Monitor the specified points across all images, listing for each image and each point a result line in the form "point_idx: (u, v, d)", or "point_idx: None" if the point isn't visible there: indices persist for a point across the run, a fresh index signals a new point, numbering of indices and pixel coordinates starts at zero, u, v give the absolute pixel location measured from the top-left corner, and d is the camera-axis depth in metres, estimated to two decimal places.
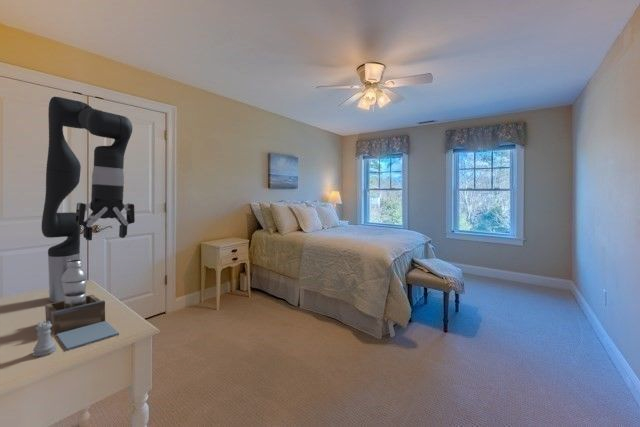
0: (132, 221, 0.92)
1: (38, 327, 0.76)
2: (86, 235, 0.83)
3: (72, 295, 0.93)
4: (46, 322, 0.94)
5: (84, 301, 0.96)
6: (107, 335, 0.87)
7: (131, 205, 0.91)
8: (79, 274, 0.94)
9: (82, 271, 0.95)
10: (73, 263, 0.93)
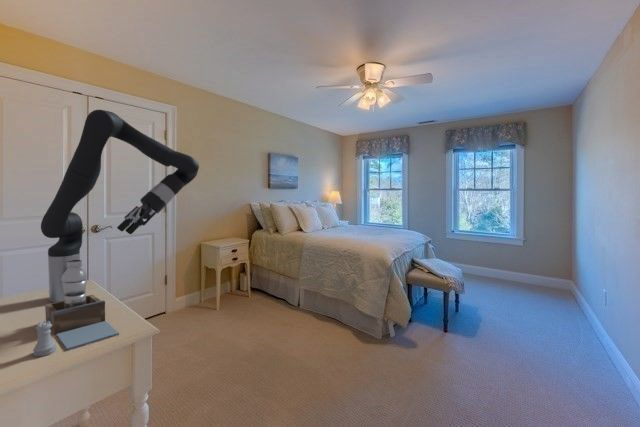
0: None
1: (38, 327, 0.76)
2: None
3: (72, 295, 0.93)
4: (46, 322, 0.94)
5: (84, 301, 0.96)
6: (107, 335, 0.87)
7: None
8: (79, 274, 0.94)
9: (82, 271, 0.95)
10: (73, 263, 0.93)
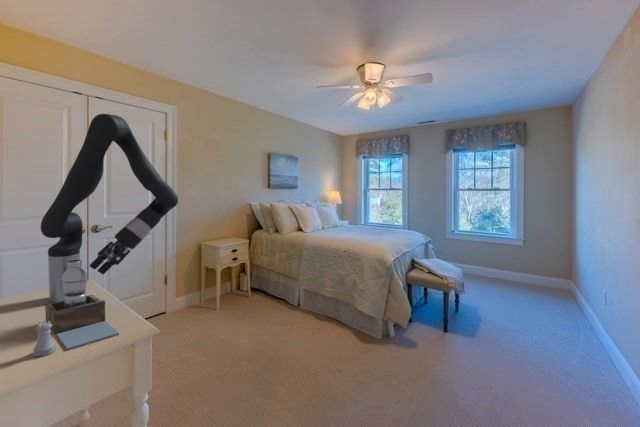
0: None
1: (38, 327, 0.76)
2: None
3: (72, 295, 0.93)
4: (46, 322, 0.94)
5: (84, 301, 0.96)
6: (107, 335, 0.87)
7: None
8: (79, 274, 0.94)
9: (82, 271, 0.95)
10: (73, 263, 0.93)
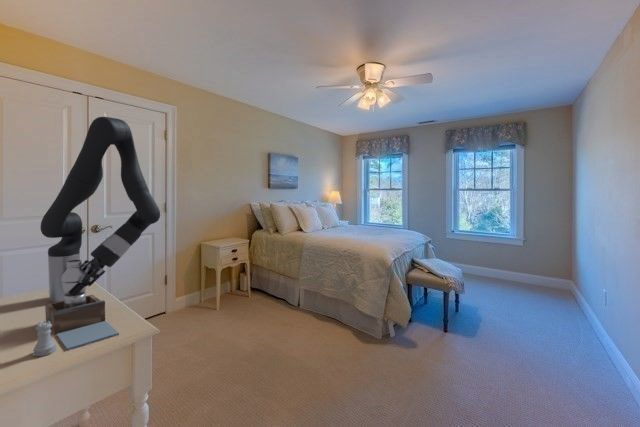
0: None
1: (38, 327, 0.76)
2: None
3: None
4: (46, 322, 0.94)
5: (84, 301, 0.96)
6: (107, 335, 0.87)
7: None
8: (79, 274, 0.94)
9: (82, 271, 0.95)
10: (73, 263, 0.93)
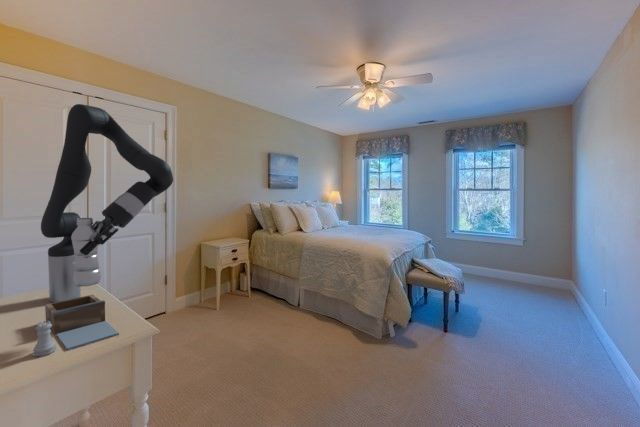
0: None
1: (38, 327, 0.76)
2: None
3: (83, 255, 0.85)
4: (46, 322, 0.94)
5: (96, 262, 0.88)
6: (107, 335, 0.87)
7: None
8: (91, 232, 0.86)
9: (93, 229, 0.88)
10: (84, 220, 0.86)
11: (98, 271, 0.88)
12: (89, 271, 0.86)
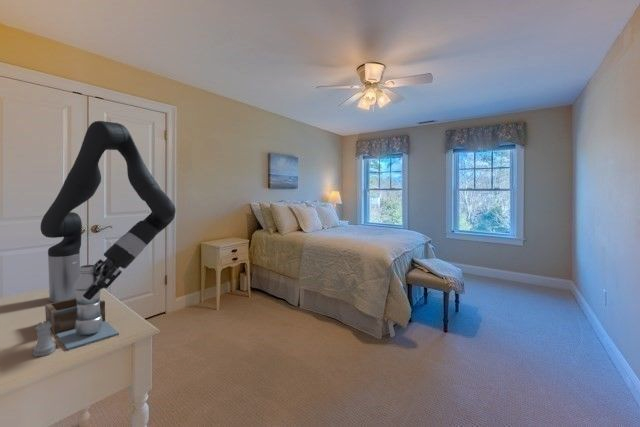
0: None
1: (38, 327, 0.76)
2: None
3: (85, 304, 0.85)
4: (46, 322, 0.94)
5: (98, 310, 0.88)
6: (107, 335, 0.87)
7: None
8: (93, 280, 0.86)
9: None
10: (87, 268, 0.85)
11: (100, 319, 0.88)
12: (91, 320, 0.86)
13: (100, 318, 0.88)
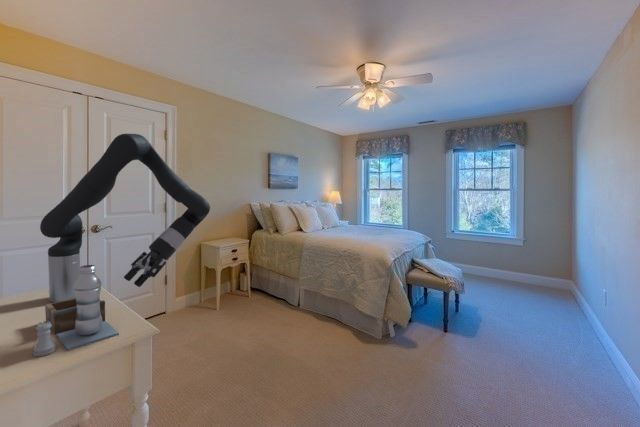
0: None
1: (38, 327, 0.76)
2: None
3: (85, 304, 0.85)
4: (46, 322, 0.94)
5: (98, 310, 0.88)
6: (107, 335, 0.87)
7: None
8: (93, 280, 0.86)
9: (96, 277, 0.87)
10: (86, 269, 0.85)
11: (100, 319, 0.88)
12: (91, 320, 0.86)
13: (100, 318, 0.88)
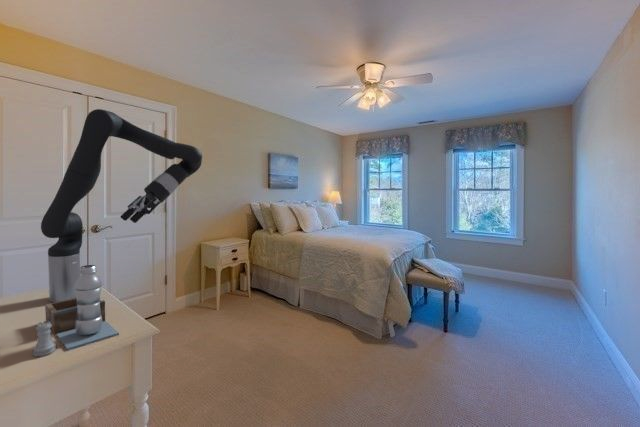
0: None
1: (38, 327, 0.76)
2: None
3: (85, 304, 0.85)
4: (46, 322, 0.94)
5: (98, 310, 0.88)
6: (107, 335, 0.87)
7: None
8: (94, 280, 0.86)
9: (96, 277, 0.87)
10: (87, 269, 0.85)
11: (100, 319, 0.88)
12: (91, 320, 0.86)
13: (100, 318, 0.88)
